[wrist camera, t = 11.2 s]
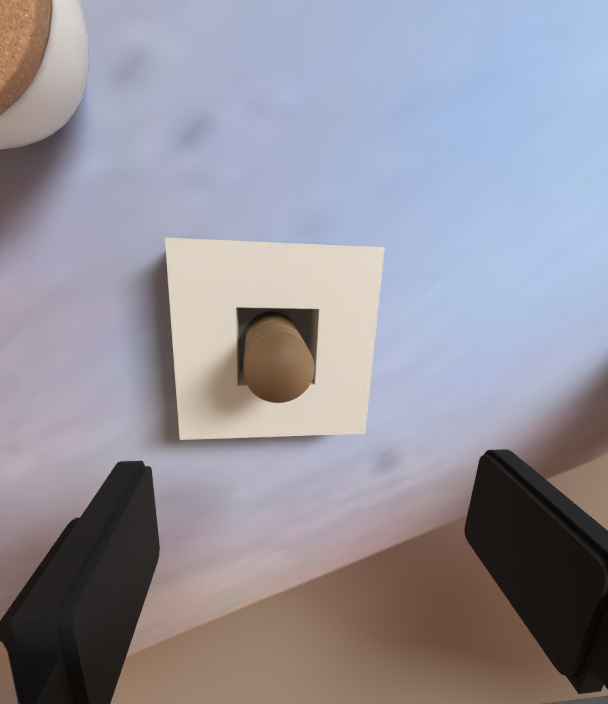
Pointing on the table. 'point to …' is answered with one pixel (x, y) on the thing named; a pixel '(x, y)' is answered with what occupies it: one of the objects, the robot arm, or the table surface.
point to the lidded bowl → (40, 67)
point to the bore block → (280, 296)
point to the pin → (276, 359)
